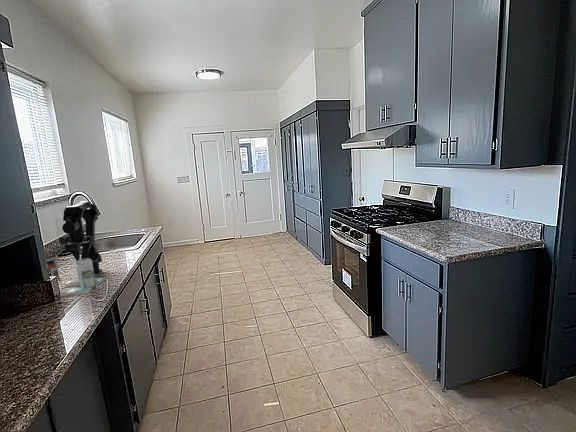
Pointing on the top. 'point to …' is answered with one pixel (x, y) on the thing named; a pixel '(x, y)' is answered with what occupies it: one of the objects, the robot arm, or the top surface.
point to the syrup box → (85, 273)
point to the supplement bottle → (52, 268)
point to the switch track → (79, 290)
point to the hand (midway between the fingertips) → (82, 258)
